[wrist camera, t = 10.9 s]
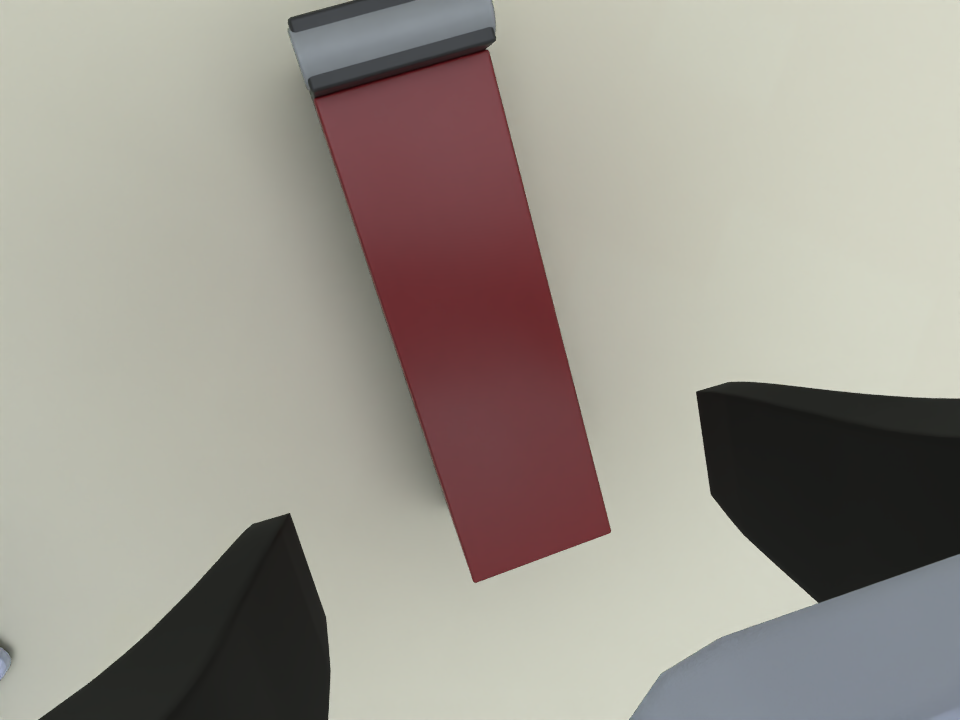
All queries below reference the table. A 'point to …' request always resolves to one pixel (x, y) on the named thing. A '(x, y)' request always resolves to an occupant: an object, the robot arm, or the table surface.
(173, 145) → the table surface
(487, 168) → the red two-tone bar
